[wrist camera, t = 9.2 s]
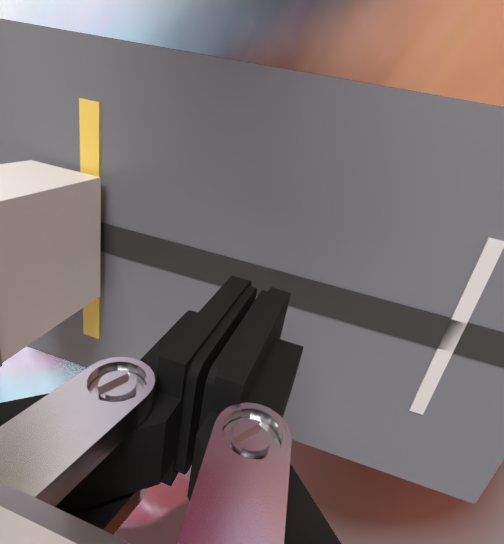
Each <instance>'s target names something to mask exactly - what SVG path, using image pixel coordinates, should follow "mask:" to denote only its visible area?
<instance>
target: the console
mask: <svg viewBox="0 0 504 544" xmlns="http://www.w3.org/2000/svg"><path fill="white" fill-rule="evenodd" d="M28 160H33V161H37V162H41V163H45V164H49V165H53V166H57V167H61V168H65V169H69V170H73V171H77V172H81V173H85V174H89V175H93V176H97V177H101V241H100V296H99V297H98V298H97V299H95V300H94V301H92V302H91V303H89V304H88V305H86V306H85V307H83V308H82V309H80V310H79V311H77V312H76V313H75V314H73V315H72V316H70V317H69V318H67V319H66V320H64V321H63V322H61V323H60V324H58V325H57V326H55V327H54V328H53V329H51V330H50V331H48V332H47V333H45V334H44V335H42V336H41V337H39V338H38V339H36V340H35V341H33V342H32V343H31V344H29V345H28V347H31V348H33V349H36V350H39V351H42V352H45V353H48V354H50V355H53V356H56V357H59V358H62V359H65V360H67V361H70V362H73V363H76V364H79V365H82V366H84V367H87V368H88V367H89V366H91V365H93V364H95V363H97V362H99V361H101V360H104V359H108V358H113V357H128V358H134V359H137V360H140V359H141V358H142V357H143V356H144V355H145V354H146V353H147V352H148V351H149V350H150V349H151V348H152V347H153V346H154V345H155V344H156V343H157V342H158V341H159V340H160V339H161V338H162V337H163V336H164V335H165V334H166V333H167V332H168V330H169V329H170V328H171V327H172V326H173V325H174V324H175V323H176V322H177V321H178V320H179V319H180V318H181V317H182V316H183V315H184V314H185V313H186V312H187V311H189V310H192V311H195V312H199V311H200V310H201V309H202V308H203V307H204V305H205V304H206V303H207V302H208V301H209V300H210V299H211V298H212V297H213V296H214V294H215V293H216V292H217V291H218V290H219V289H220V288H221V287H222V286H223V284H224V283H225V282H226V281H227V280H228V279H229V278H230V277H231V276H232V275H233V276H236V277H239V278H243V279H246V280H250V281H251V282H252V287H255V288H257V295H256V298H257V297H258V295H259V294H260V292H261V291H262V290H265V291H269V289H270V288H271V287H273V288H276V289H280V290H283V291H287V292H290V293H291V295H290V300H289V304H288V308H287V312H286V316H285V320H284V325H283V329H282V333H281V337H280V339H282V340H285V341H288V342H291V343H294V344H297V345H300V346H303V347H304V348H303V352H302V355H301V359H300V362H299V366H298V370H297V373H296V377H295V380H294V383H293V387H292V390H291V393H290V397H289V400H288V403H287V406H286V409H285V412H284V415H283V419H284V421H285V422H286V423H287V425H288V427H289V430H290V432H291V440H295V441H298V442H300V443H303V444H306V445H308V446H311V447H314V448H317V449H320V450H323V451H326V452H328V453H331V454H334V455H337V456H340V457H343V458H346V459H348V460H351V461H354V462H357V463H360V464H362V465H365V466H368V467H371V468H374V469H377V470H379V471H382V472H385V473H388V474H391V475H394V476H396V477H399V478H402V479H405V480H408V481H411V482H413V483H416V484H419V485H422V486H425V487H428V488H431V489H433V490H436V491H439V492H442V493H445V494H447V495H450V496H453V497H456V498H459V499H462V500H464V501H468V502H470V503H473V504H475V503H476V501H477V500H478V498H479V497H480V495H481V494H482V492H483V491H484V489H485V487H486V486H487V484H488V483H489V481H490V480H491V478H492V477H493V475H494V474H495V472H496V470H497V469H498V467H499V466H500V464H501V463H502V461H503V460H504V107H501V106H495V105H489V104H484V103H478V102H472V101H467V100H461V99H455V98H449V97H444V96H438V95H432V94H427V93H421V92H415V91H409V90H404V89H398V88H392V87H387V86H381V85H375V84H370V83H364V82H358V81H352V80H347V79H341V78H335V77H330V76H324V75H318V74H313V73H307V72H301V71H295V70H290V69H284V68H278V67H273V66H267V65H261V64H255V63H250V62H244V61H238V60H233V59H227V58H221V57H216V56H210V55H204V54H198V53H193V52H187V51H181V50H176V49H170V48H164V47H159V46H153V45H147V44H141V43H136V42H130V41H124V40H119V39H113V38H107V37H102V36H96V35H90V34H84V33H79V32H73V31H67V30H62V29H56V28H50V27H44V26H39V25H33V24H27V23H22V22H16V21H10V20H5V19H0V164H6V163H13V162H20V161H28Z"/></svg>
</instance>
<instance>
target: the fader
mask: <svg viewBox="0 0 504 544" xmlns="http://www.w3.org/2000/svg"><path fill="white" fill-rule="evenodd" d="M100 241H101V177H97V176H93V175H89V174H85V173H81V172H77V171H73V170H69V169H65V168H61V167H57V166H53V165H49V164H45V163H41V162H37V161H33V160H28V161H20V162H13V163H6V164H0V367H1V366H2V363H3V362H4V361H6V360H7V359H8V358H10V357H11V356H13V355H14V354H16V353H17V352H19V351H20V350H22V349H23V348H25V347H26V346H28V345H29V344H31V343H32V342H33V341H35V340H36V339H38V338H39V337H41V336H42V335H44V334H45V333H47V332H48V331H50V330H51V329H53V328H54V327H55V326H57V325H58V324H60V323H61V322H63V321H64V320H66V319H67V318H69V317H70V316H72V315H73V314H75V313H76V312H77V311H79V310H80V309H82V308H83V307H85V306H86V305H88V304H89V303H91V302H92V301H94V300H95V299H97V298H98V297H99V296H100Z"/></svg>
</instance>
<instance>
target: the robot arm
mask: <svg viewBox="0 0 504 544" xmlns="http://www.w3.org/2000/svg"><path fill="white" fill-rule="evenodd" d="M256 295H257V288H255V287H252V282H251V281H250V280H246V279H243V278H239V277H236V276H233V275H232V276H231V277H230V278H229V279H228V280H227V281H226V282H225V283H224V284H223V286H222V287H221V288H220V289H219V290H218V291H217V292H216V293H215V294H214V296H213V297H212V298H211V299H210V300H209V301H208V302H207V303H206V304H205V305H204V307H203V308H202V309H201V310H200V311H199V312H195V311H192V310H189V311H187V312H186V313H185V314H184V315H183V316H182V317H181V318H180V319H179V320H178V321H177V322H176V323H175V324H174V325H173V326H172V327H171V328H170V329H169V330H168V332H167V333H166V334H165V335H164V336H163V337H162V338H161V339H160V340H159V341H158V342H157V343H156V344H155V345H154V346H153V347H152V348H151V349H150V350H149V351H148V352H147V353H146V354H145V355H144V356H143V357H142V358H141V359H140V360H137V359H134V358H128V357H113V358H108V359H104V360H101V361H99V362H97V363H95V364H93V365H91V366H89V367H88V368H86V369H85V370H83V371H82V372H80V373H79V374H77V375H76V376H74V377H73V378H71V379H70V380H68V381H67V382H65V383H64V384H63V385H61V386H60V387H58V388H57V389H55V390H54V391H52V392H51V393H49V394H44V395H39V396H34V397H29V398H24V399H18V400H13V401H8V402H3V403H0V544H131V543H129V542H127V541H125V540H123V539H121V538H119V537H117V536H114V533H115V532H116V531H117V530H118V529H119V528H120V526H121V525H122V524H123V523H124V521H125V520H126V519H127V518H128V517H129V515H130V514H131V513H132V512H133V510H134V509H135V508H136V507H137V505H138V504H139V503H140V501H141V500H142V498H143V497H144V495H145V492H146V488H149V487H152V486H155V485H158V484H160V483H161V482H162V483H165V484H167V485H169V486H171V485H172V483H173V481H174V480H175V478H176V476H177V474H178V472H180V473H182V474H186V473H187V472H188V470H189V468H190V467H191V465H192V468H191V475H190V482H189V489H188V495H187V496H188V499H189V501H190V502H189V506H188V509H187V512H186V515H185V518H184V522H183V525H182V528H181V531H180V534H179V537H178V540H177V544H341V543H340V541H339V540H338V538H337V536H336V535H335V533H334V532H333V530H332V529H331V527H330V525H329V524H328V522H327V521H326V519H325V518H324V516H323V514H322V513H321V511H320V510H319V508H318V507H317V505H316V503H315V502H314V500H313V499H312V497H311V495H310V494H309V492H308V491H307V489H306V488H305V486H304V485H303V483H302V481H301V480H300V478H299V477H298V475H297V474H296V472H295V471H294V469H293V467H292V466H291V464H290V458H291V444H292V441H291V432H290V430H289V427H288V425H287V423H286V422H285V421H284V419H283V415H284V412H285V409H286V406H287V403H288V400H289V397H290V393H291V390H292V387H293V383H294V380H295V377H296V373H297V370H298V366H299V362H300V359H301V355H302V352H303V348H304V347H303V346H300V345H297V344H294V343H291V342H288V341H285V340H282V339H280V337H281V333H282V329H283V325H284V320H285V316H286V312H287V308H288V304H289V300H290V295H291V293H290V292H287V291H283V290H280V289H276V288H273V287H271V288H270V289H269V291H265V290H262V291H261V292H260V294H259V295H258V297H257V298H256Z"/></svg>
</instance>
